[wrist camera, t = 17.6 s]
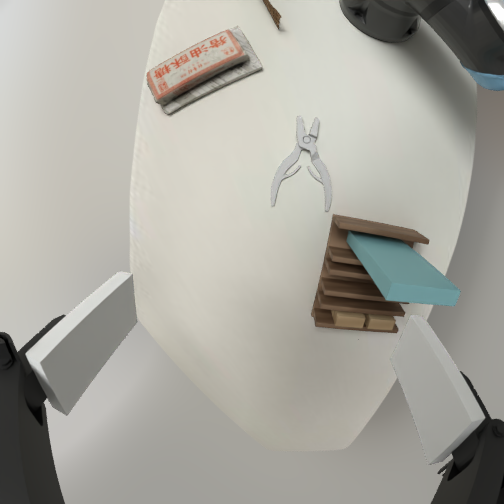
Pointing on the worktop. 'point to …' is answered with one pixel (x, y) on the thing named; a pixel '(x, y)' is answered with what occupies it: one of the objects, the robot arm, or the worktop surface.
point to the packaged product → (202, 69)
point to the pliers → (303, 143)
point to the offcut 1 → (348, 319)
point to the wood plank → (273, 12)
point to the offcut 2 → (379, 321)
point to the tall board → (401, 271)
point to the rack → (354, 275)
